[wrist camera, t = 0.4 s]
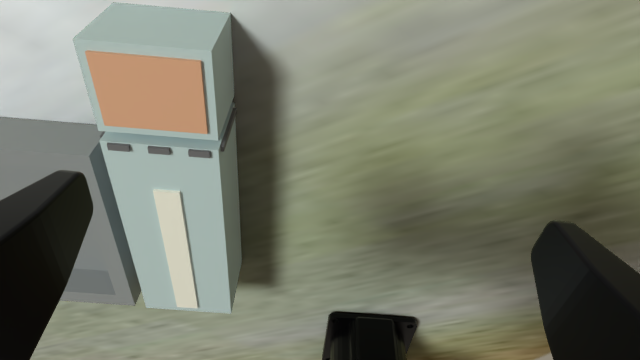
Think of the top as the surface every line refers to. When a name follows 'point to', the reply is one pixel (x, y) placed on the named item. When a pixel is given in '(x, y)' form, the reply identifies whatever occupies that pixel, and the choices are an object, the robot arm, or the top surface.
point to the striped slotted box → (180, 215)
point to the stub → (158, 70)
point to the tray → (106, 225)
